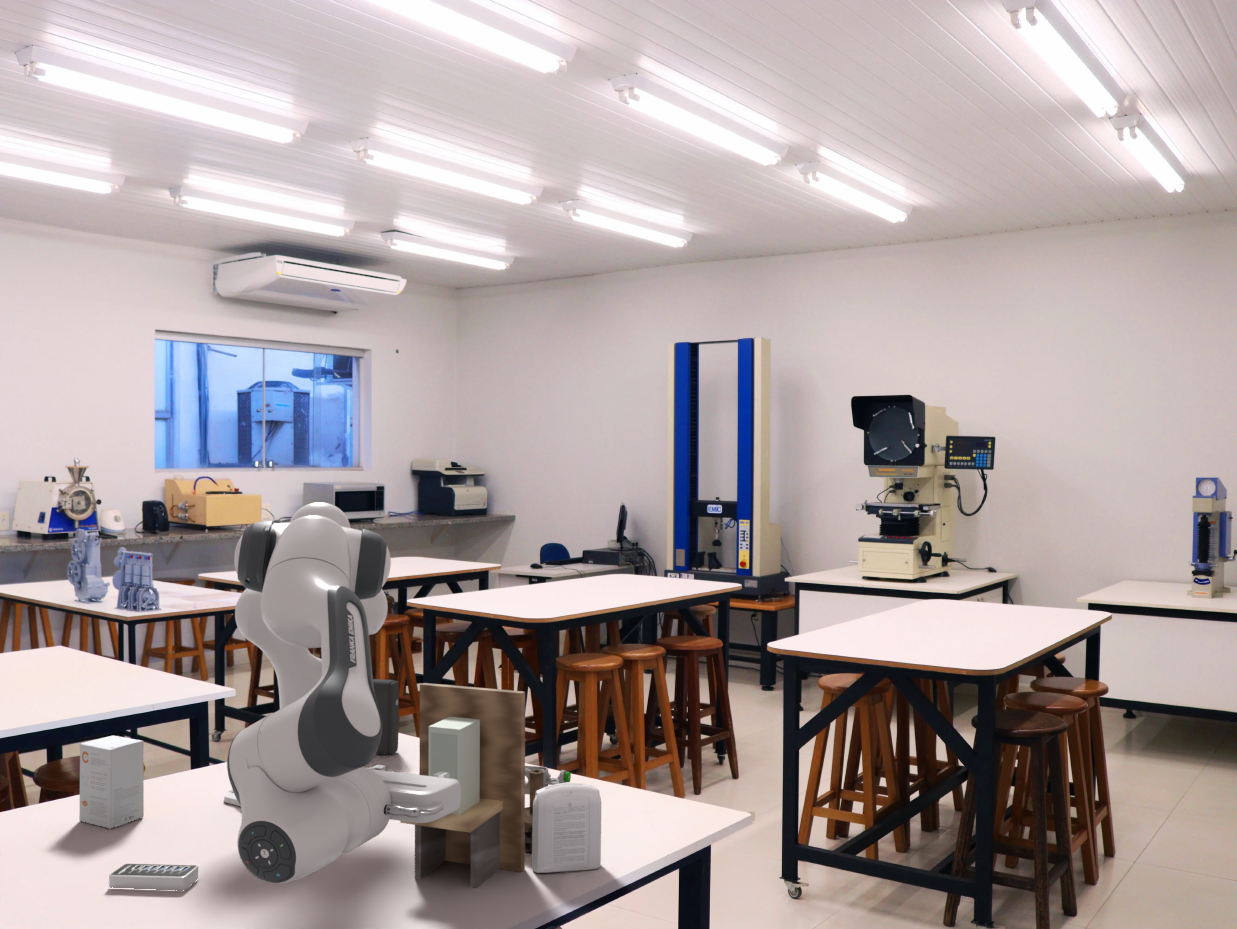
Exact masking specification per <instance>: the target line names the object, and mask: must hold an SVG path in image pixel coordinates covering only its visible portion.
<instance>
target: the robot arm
mask: <svg viewBox="0 0 1237 929" xmlns="http://www.w3.org/2000/svg"><path fill="white" fill-rule="evenodd" d="M233 557H234V561H233V563H234V564H233V565H234V569H235V573H236V575H237V580H238V581H239V582H240V584H241V585H242V586H243V587H244V591H243V592H242V593H241V594H240V595H239V597H238V599H237V602H236V605H235V609H234V619H235V624H236V626H237V629H238V630H239V632H240V633H241V635H242V637H244V638H245V639H246V640H247V641H248V642H251V643H252V644H253V645H254V646H256V647H258V648H259V649H260V650H261V652H263V654H264V655H265V656H266V657H267V658H268V660H269V662H270V663H271V666H272V668H273V669H274V672H275V676H276V679H277V687H278V695H279V697H278V698H279V709H277V711H275V712H273V713H270V714H267V716H264V717H263V718H260V719H259V720H258V721H256V722H254V723H252V724H250V725H249V726H247V727H245V728H243V729H242V730H240V731H238V733H236V735H235V736H234V737H233V738H232V741H231V743H230V746H229V749H228V752H227V759H226V768H227V776H228V779H229V784H230V785H231V789H230V790H228V791H227V792H226V793H225V794H224V797H223V802H224V803H228V804H231V805H234V806H238V807H240V808H241V823H240V827H239V830H238V834H237V850H238V854H239V855H238V856H239V858H240V860H241V862H242V864H243V866H244V867H245V868H246V870H247V871H248V872H249V873H251V875H252V876H254V877H256V878H257V879H259V880H261V881H264V882H267V883H271V884H286V883H290V882H291V883H292V882H295V881H298V880H301V879H303V878H306V877H308V876H310V875H312V874H314V873H316V872H318V871H320V870H322V869H323V868H325V867H327V866H329V865H331V864H332V863H334V862H335V861H336V860H337V859H339V858H340V856H342V854H346V853H349V852H353V851H354V850H355V849H358V848H359V847H361V846H362V845H364V844H366V843H367V842H369V841H371V840H372V839H375V838H376V837H378V836H379V835H380V834H381V833H382V832H383V831H384V830H385V829H386V827H387V826H388V824H389V821H391V820H393V821H406V822H413V823H428V822H432V821H435V820H438V819H440V818H442V817H444V816H447V815H449V814H451V813H453V812H454V811H456V810H458V809H459V807H460V803H461V786H460V783H459V781H458V780H457V779H452V778H450V774H449V773H446V772H438V773H436V774H434V775H433V776H425V775H419V774H416V773H415V774H414V773H408V772H407V773H406V772H398V771H390V770H389V767H388V765H383V764H376V765H374V766H371V767H365V766H367V765H368V764H370V762H372V760H373V759H374V758H375V756H376V755H377V754H376V752H377V750H378V747H379V744H380V740H381V736H382V718H381V713H380V709H379V706H378V703H377V700H376V696H375V693H374V686H373V679H374V676H373V666H372V664H373V663H372V655H371V644H370V643H371V642H370V636H371V635H375V634H376V633H378V632H379V631H380V630H381V628H382V627H383V625H384V623H385V621H386V619H387V615H388V611H389V610H388V608H389V607H388V599H387V596H386V594H385V592H384V590H383V587H384V585H385V584H386V582H387V581H388V578H389V575H390V572H391V566H392V565H391V564H392V560H391V553H390V550H389V548H388V542H387V541H386V539H385V538H384V537H383V536H382V535H381V534H380V533H377V532H375V531H372V530H369V529H366V528H361V529H356V528H351V524H350V521H349V519H348V517H347V514H345V512H344V511H343V510H341V508H339V507H338V506H336V505H334V504H332V503H329V502H321V501H319V502H317V501H316V502H311V503H308V504H305V505H303V506H301V507H300V508H299V509H297V510H296V511H295V513H293V515H292V516H291V518H290V520H289V522H275V521H274V520H263V521H256V522H253V523H251V524H250V525H249V526H247V527H246V528H245V529H244V530H243V533H242V535H241V536H240V538H239V539H238V541H237V543H236V546H235V549H234V555H233ZM318 648H321V649H320V652H321V653H320V654H321V656H320V657H321V658H319V657H317V656H315V655H314V654H312V653H311V652H310V650H309V649H318Z"/></svg>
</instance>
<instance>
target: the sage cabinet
mask: <svg viewBox="0 0 1237 929" xmlns="http://www.w3.org/2000/svg"><path fill="white" fill-rule="evenodd" d="M438 772H446V773H449V774H450V778H452V779H457V780H458V781H459V783H460V786H461V803H460V807H459V809H458V810H456V811H454V812H453V813H451V814H455V815H460V814H462V813H463V812H465V811H466V810H468V809H469V808H471V807H473V806H474V805H476V804H477V803H479V802H480V720H479V719H469V718H459V717H448V718H446V719H444V720H441V721H439V722H437V723H435V724H433V725H431V726H429V775H428V776H433V775H434V774H436V773H438Z"/></svg>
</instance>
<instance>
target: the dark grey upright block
mask: <svg viewBox="0 0 1237 929" xmlns="http://www.w3.org/2000/svg"><path fill="white" fill-rule="evenodd" d="M373 686H374V693H375V696H376V700H377V703H378V706H379V709H380V713H381V718H382V736H381V740H380V744H379V747H378V750H377V752H376V754H375V755H383V756H390V755H393V754H396V753H397V752H398V750H399V730H400V729H399V728H400V727H399V726H400V725H399V722H400V721H399V720H400V718H399V717H400V716H399V715H400V714H399V713H400V708H399V707H400V700H399V699H400V683H399V680H395V679H379V678H373Z"/></svg>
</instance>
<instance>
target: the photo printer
mask: <svg viewBox="0 0 1237 929" xmlns="http://www.w3.org/2000/svg"><path fill="white" fill-rule="evenodd" d="M601 846H602V798H601V795H600V790H599V788H598V787H597V786H595V785H592V784H587V783H584V782H583V783H582V782H567V783H559V784H554V785H548V786H547V787H544V788H541V789H539V790H537V791H536V793H535V799H534V802H533V833H532V852H531V869H532V871H533V872H535V873H537V874H539V873H541V874H542V873H558V872H559V873H560V872H572V871H586V870H596V869H599V868H600V867H601V864H602V863H601V860H602V859H601V857H602V856H601V855H602V851H601V850H602V849H601V848H602V847H601Z"/></svg>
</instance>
